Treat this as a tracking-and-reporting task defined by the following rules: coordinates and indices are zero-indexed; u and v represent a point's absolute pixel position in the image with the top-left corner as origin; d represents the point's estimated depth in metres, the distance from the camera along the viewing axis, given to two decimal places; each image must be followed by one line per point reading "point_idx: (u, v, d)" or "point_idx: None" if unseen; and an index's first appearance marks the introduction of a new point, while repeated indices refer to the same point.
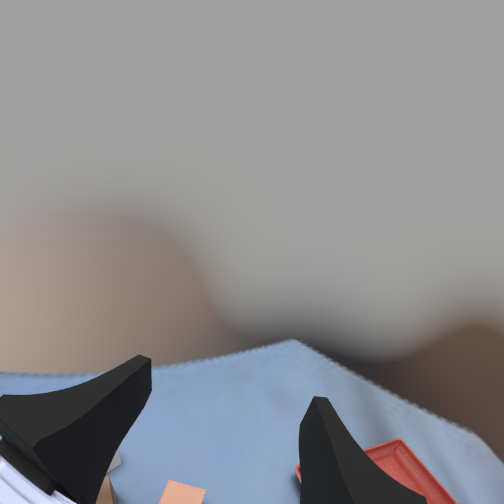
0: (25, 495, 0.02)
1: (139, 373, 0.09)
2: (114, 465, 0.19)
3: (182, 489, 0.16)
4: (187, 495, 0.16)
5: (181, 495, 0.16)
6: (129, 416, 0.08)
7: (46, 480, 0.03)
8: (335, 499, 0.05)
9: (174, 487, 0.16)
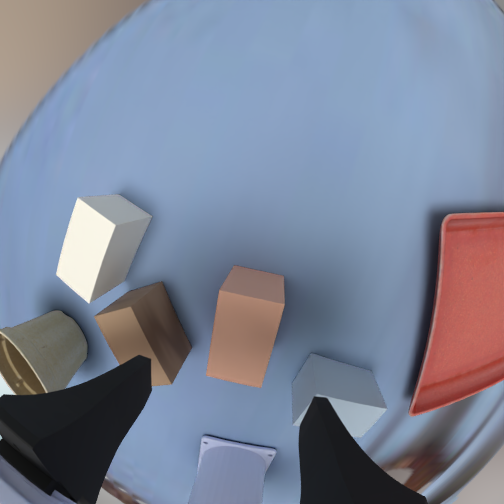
0: (25, 495, 0.02)
1: (139, 373, 0.09)
2: (143, 230, 0.18)
3: (244, 308, 0.14)
4: (253, 320, 0.14)
5: (243, 321, 0.14)
6: (129, 416, 0.08)
7: (46, 480, 0.03)
8: (335, 499, 0.05)
9: (230, 305, 0.14)
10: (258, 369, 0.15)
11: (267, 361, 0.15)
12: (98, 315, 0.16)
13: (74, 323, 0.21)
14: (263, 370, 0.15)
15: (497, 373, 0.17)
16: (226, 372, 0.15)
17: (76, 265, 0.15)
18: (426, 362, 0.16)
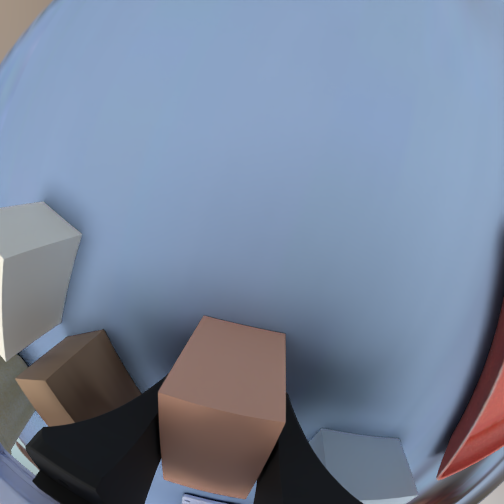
0: (25, 495, 0.02)
1: None
2: (69, 255, 0.11)
3: (207, 423, 0.06)
4: (226, 439, 0.06)
5: (208, 438, 0.07)
6: None
7: None
8: (273, 497, 0.05)
9: (182, 416, 0.06)
10: (240, 485, 0.07)
11: (254, 480, 0.07)
12: (18, 378, 0.08)
13: (21, 362, 0.14)
14: (248, 487, 0.07)
15: None
16: (192, 482, 0.07)
17: None
18: (472, 430, 0.08)
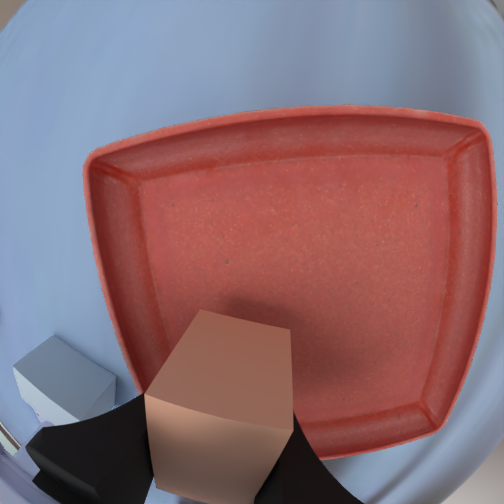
0: (25, 495, 0.02)
1: None
2: None
3: (202, 431, 0.05)
4: (224, 448, 0.05)
5: (204, 447, 0.05)
6: None
7: None
8: (273, 498, 0.05)
9: (173, 422, 0.05)
10: (240, 497, 0.06)
11: (255, 491, 0.06)
12: None
13: None
14: (249, 498, 0.06)
15: (372, 435, 0.13)
16: (187, 492, 0.06)
17: None
18: (136, 383, 0.12)
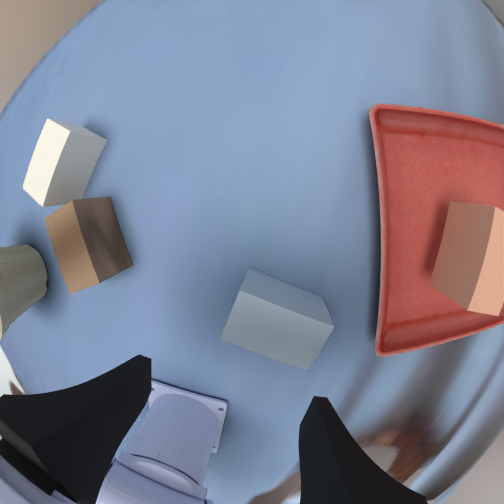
0: (25, 495, 0.02)
1: (139, 373, 0.09)
2: (98, 151, 0.19)
3: None
4: None
5: None
6: (129, 416, 0.08)
7: (46, 480, 0.03)
8: (335, 499, 0.05)
9: (500, 223, 0.10)
10: (502, 293, 0.11)
11: None
12: (48, 217, 0.16)
13: (38, 254, 0.21)
14: None
15: (486, 318, 0.17)
16: (483, 302, 0.11)
17: (38, 173, 0.15)
18: (383, 274, 0.16)
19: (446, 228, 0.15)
